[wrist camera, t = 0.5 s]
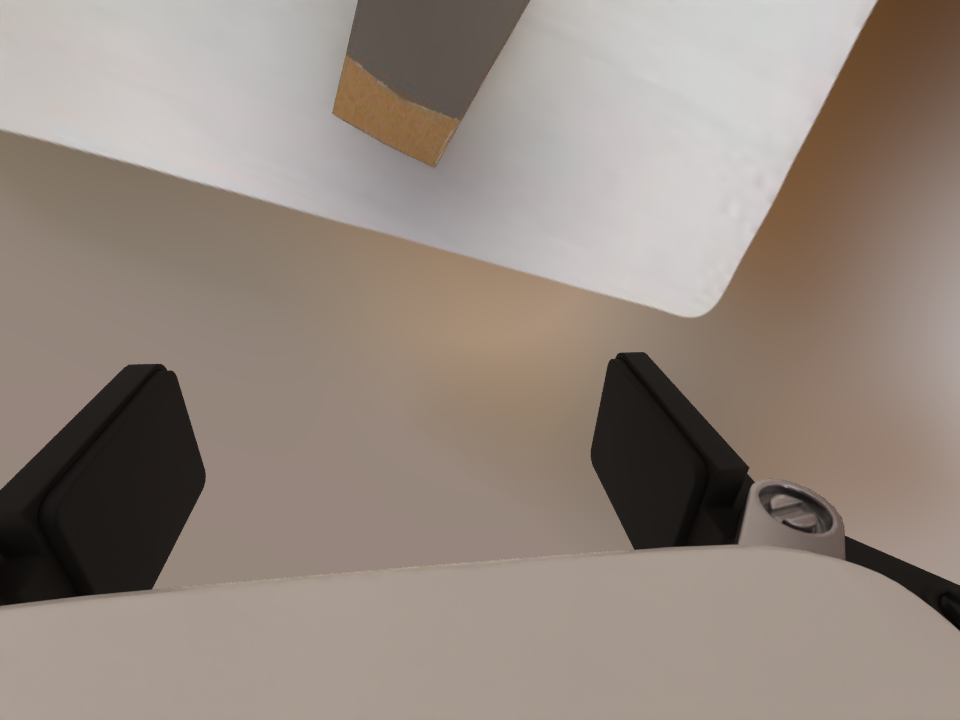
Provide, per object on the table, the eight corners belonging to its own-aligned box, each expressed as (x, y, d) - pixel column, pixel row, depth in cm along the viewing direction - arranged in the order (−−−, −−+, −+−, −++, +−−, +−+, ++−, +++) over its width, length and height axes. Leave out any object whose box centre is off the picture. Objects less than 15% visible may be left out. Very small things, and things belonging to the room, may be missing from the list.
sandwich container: (327, 113, 35) (278, 121, 22) (415, -141, 29) (422, -339, 16) (436, 171, 37) (452, 209, 24) (536, -51, 32) (626, -157, 19)
